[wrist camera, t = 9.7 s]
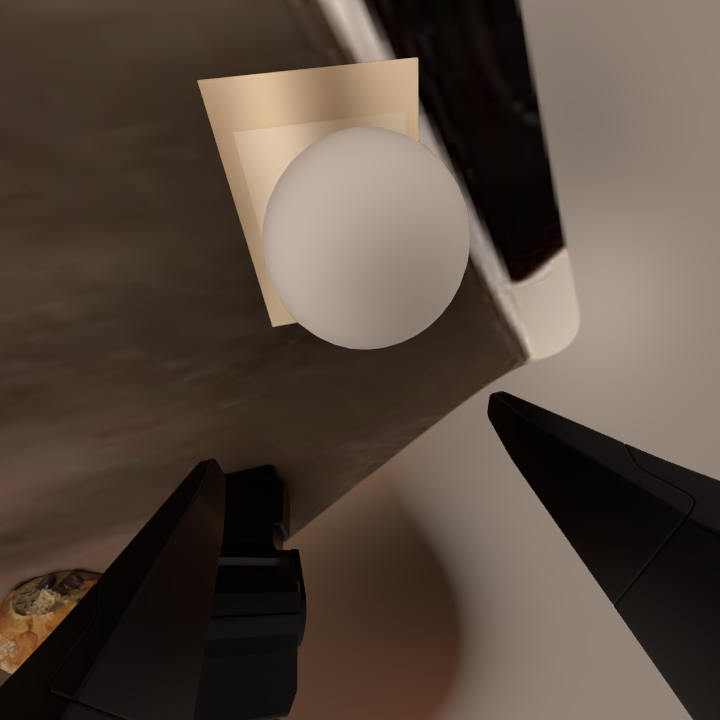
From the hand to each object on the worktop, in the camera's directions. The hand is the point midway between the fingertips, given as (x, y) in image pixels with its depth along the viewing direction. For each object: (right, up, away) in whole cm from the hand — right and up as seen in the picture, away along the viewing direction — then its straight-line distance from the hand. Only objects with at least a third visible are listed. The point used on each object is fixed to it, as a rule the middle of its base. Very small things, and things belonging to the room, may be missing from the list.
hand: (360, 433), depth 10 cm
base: (-2, +11, +8) cm, 14 cm away
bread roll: (-31, -22, +23) cm, 44 cm away
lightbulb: (-1, +10, +7) cm, 12 cm away
